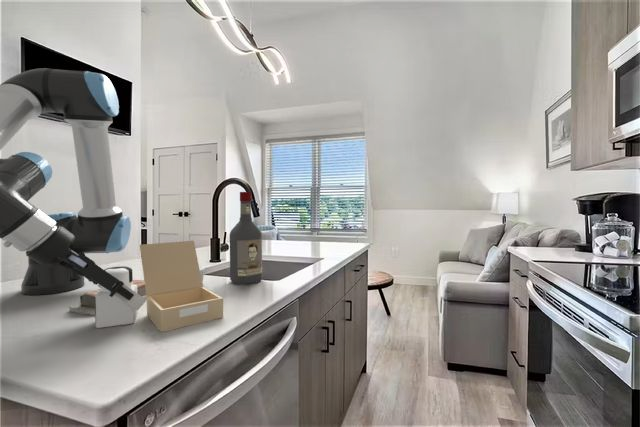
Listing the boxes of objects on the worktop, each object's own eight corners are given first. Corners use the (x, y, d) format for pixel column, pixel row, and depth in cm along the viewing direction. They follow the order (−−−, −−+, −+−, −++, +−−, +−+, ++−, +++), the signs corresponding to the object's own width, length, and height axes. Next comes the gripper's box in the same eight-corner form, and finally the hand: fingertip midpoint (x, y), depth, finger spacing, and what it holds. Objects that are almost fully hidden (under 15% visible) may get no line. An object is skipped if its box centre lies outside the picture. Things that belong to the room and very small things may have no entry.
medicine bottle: (102, 318, 75) (101, 266, 74) (138, 313, 77) (136, 263, 77) (95, 329, 68) (93, 272, 68) (134, 323, 71) (132, 269, 70)
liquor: (227, 281, 109) (226, 192, 108) (251, 276, 116) (250, 192, 114) (240, 286, 103) (239, 191, 102) (265, 281, 109) (264, 192, 108)
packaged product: (130, 277, 96) (157, 279, 93) (130, 293, 96) (158, 296, 93) (67, 293, 79) (98, 297, 76) (68, 313, 79) (99, 317, 76)
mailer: (141, 307, 82) (139, 244, 81) (194, 297, 90) (193, 240, 90) (161, 332, 66) (159, 254, 66) (223, 317, 75) (222, 248, 74)
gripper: (14, 248, 68) (104, 304, 80) (34, 260, 53) (139, 327, 66) (46, 221, 71) (127, 279, 84) (72, 226, 57) (165, 295, 70)
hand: (132, 300), depth 75 cm, fingers closed on medicine bottle, 9 cm apart
